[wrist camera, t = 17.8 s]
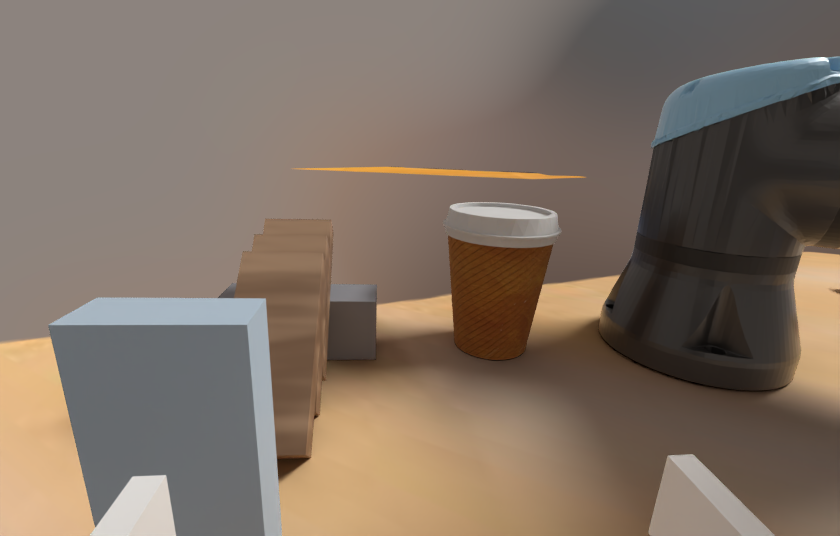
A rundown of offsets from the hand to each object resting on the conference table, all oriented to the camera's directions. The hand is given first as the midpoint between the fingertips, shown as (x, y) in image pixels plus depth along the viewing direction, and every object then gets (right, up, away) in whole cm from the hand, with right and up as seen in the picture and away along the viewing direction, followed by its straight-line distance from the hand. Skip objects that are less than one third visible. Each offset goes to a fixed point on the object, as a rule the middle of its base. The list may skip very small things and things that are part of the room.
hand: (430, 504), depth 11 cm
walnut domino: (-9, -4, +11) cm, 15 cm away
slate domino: (-8, -6, +4) cm, 11 cm away
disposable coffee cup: (+6, -1, +26) cm, 27 cm away
